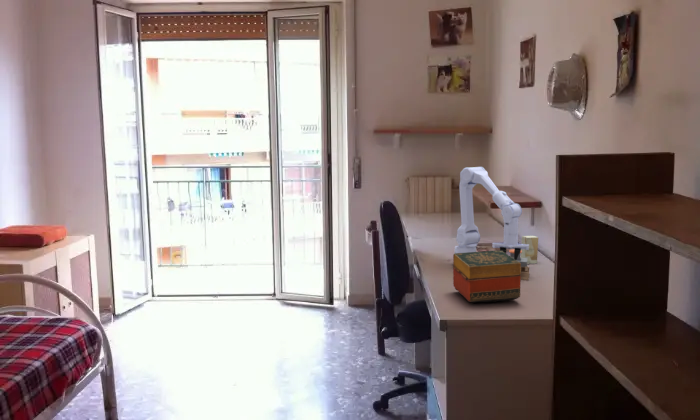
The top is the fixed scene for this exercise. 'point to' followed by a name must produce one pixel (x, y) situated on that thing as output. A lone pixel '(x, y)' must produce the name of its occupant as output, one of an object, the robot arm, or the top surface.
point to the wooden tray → (524, 273)
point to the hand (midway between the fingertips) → (509, 265)
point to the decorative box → (486, 276)
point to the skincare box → (530, 249)
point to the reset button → (513, 254)
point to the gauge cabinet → (523, 262)
